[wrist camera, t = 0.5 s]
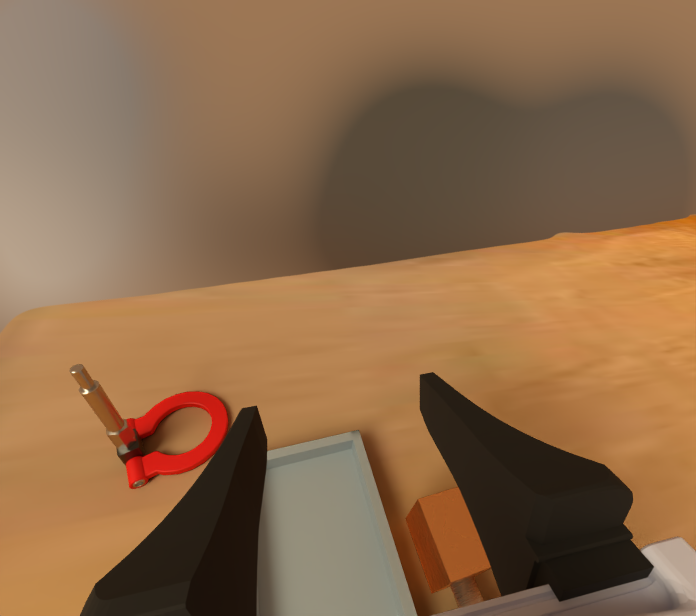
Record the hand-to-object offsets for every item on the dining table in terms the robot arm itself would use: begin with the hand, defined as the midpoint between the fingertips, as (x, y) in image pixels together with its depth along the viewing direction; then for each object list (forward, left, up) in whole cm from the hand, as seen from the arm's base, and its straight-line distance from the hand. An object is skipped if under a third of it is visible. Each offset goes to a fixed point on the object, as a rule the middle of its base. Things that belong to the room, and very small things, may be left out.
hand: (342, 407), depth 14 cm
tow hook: (+12, +13, -19) cm, 26 cm away
